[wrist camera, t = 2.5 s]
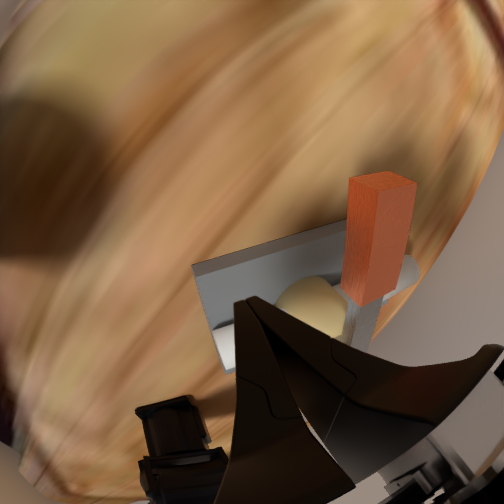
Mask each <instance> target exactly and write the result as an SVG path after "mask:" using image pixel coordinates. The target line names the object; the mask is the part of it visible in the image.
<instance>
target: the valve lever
mask: <svg viewBox="0 0 504 504" xmlns="http://www.w3.org/2000/svg"><path fill="white" fill-rule="evenodd" d="M416 189H417V183H416V182H414V181H412V180H409V179H407V178H405V177H403V176H400V175H398V174H395V173H393V172H391V171H385V172H379V173H373V174H367V175H362V176H356V177H351V178H349V192H348V210H347V225H346V237H345V248H344V258H343V267H342V276H341V284H340V288H341V289H342V290H343V291H344V292H345V293H346V294H347V295H348V296H349V300H348V305H347V311H346V316H345V321H344V326H343V331H342V336H341V342H343V343H345V344H347V345H349V346H351V347H353V348H355V349H358V350H360V351H363V352H365V353H366V352H367V349H368V346H369V343H370V340H371V337H372V334H373V331H374V328H375V325H376V322H377V318H378V315H379V311H380V308H381V304H382V301H383V297H384V295H386V294H388V293H390V292H391V291H393V290H395V289H396V286H397V282H398V279H399V275H400V271H401V267H402V263H403V259H404V255H405V250H406V246H407V241H408V236H409V231H410V226H411V221H412V215H413V209H414V203H415V197H416Z"/></svg>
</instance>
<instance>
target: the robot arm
mask: <svg viewBox="0 0 504 504" xmlns="http://www.w3.org/2000/svg"><path fill="white" fill-rule="evenodd" d="M233 316H234V345H235V371H236V409H235V419H234V427H233V436H232V444H231V451H230V457H229V459H228V457H227V455H226V454H225V452H224V450H223V448H222V447H217V448H215V449H209V446H208V443H211V441H212V440H211V438H210V435H209V432H208V429H207V427H206V424H205V421H204V418H203V415H202V413H201V412H200V410H199V409H198V407H196V406H193V405H192V403H191V401H190V400H189V398H188V397H181V398H178V399H174V400H170V401H166V402H163V403H159V404H155V405H151V406H146V407H142V408H138V409H135V414H136V415H137V416H138V417H139V418H140V419H141V420H142V424H143V429H144V434H145V439H146V443H147V448H148V452H149V456H143V458H144V459H142V460H140V461H138V464H139V469H140V473H141V477H142V481H143V485H144V490H145V493H146V497H148V498H150V499H151V500H153V502H154V503H156V504H327V503H329V502H330V501H333V500H334V499H336V498H338V497H340V496H342V495H343V494H346V493H347V492H349V491H351V490H353V489H354V488H355V487H356V486H355V484H357V483H359V482H360V481H362V480H364V479H366V478H367V477H369V476H371V475H372V474H374V473H376V472H377V471H378V473H379V474H380V476H381V477H382V478H383V480H384V481H385V482H386V484H387V485H386V486H384V488H385V489H386V491H387V492H388V493H389V495H390V496H389V497H387V498H385V499H384V500H383V501H381V502H380V503H378V504H424V503H423V502H425V501H426V500H427V499H429V498H431V497H432V496H434V495H435V494H434V493H435V492H436V491H438V490H439V489H441V488H442V489H443V491H444V492H445V493H443V494H441V495H439V496H437V497H436V498H435V499H433V503H431V504H504V359H503V360H502V362H501V363H500V364H499V366H498V367H497V368H496V370H495V371H494V372H492V371H491V370H490V368H491V367H492V366H493V364H494V363H495V361H496V360H497V359H498V357H499V356H500V354H501V353H502V352H503V350H504V346H501V345H498V344H487V345H484V346H482V347H481V349H480V350H479V351H478V352H477V353H476V354H475V355H474V356H472V357H470V358H467V359H464V360H461V361H455V362H448V363H441V364H435V365H426V366H418V367H408V366H402V365H398V364H395V363H392V362H389V361H387V360H384V359H381V358H378V357H376V356H373V355H370V354H368V353H365V352H363V351H360V350H358V349H355V348H353V347H351V346H349V345H347V344H345V343H343V342H341V341H339V340H337V339H335V338H333V337H332V338H331V336H329V335H327V334H325V333H323V332H322V331H320V330H318V329H316V328H314V327H312V326H310V325H308V324H307V323H305V322H303V321H301V320H299V319H297V318H296V317H294V316H292V315H290V314H288V313H287V312H285V311H283V310H281V309H279V308H277V307H276V306H274V305H272V304H270V303H269V302H267V301H265V300H263V299H261V298H260V297H258V296H251V297H248V298H246V299H245V300H239V301H236V302H234V303H233ZM298 407H299V408H298ZM299 409H300V410H301V412H302V413H303V414H304V416H305V417H306V419H307V420H308V422H309V423H310V425H311V426H312V427H313V429H314V430H315V432H316V433H317V435H318V436H319V437H320V439H321V440H322V442H323V443H324V445H325V446H326V447H327V449H328V450H329V452H330V453H331V454H332V456H333V457H334V458H335V460H336V461H337V463H338V464H339V465H340V466H339V465H338V464H337V463H336V461H335V460H334V459H333V458H332V457H331V456H330V455H329V453H328V452H327V451H326V450H325V449H324V448H323V446H322V445H321V444H320V443H319V441H318V440H317V439H316V438H315V437H314V436H313V434H312V433H311V432H310V430H309V428H308V427H307V425H306V423H305V421H304V419H303V416H302V414H301V412H300V410H299ZM152 472H159V474H153V473H152Z"/></svg>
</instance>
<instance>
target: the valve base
mask: <svg viewBox="0 0 504 504" xmlns="http://www.w3.org/2000/svg"><path fill="white" fill-rule="evenodd" d="M346 225H347V219H345V220H342V221H338V222H335V223H332V224H328V225H325V226H321V227H318V228H315V229H311V230H308V231H304V232H301V233H298V234H294V235H291V236H287V237H284V238H281V239H277V240H274V241H271V242H267V243H264V244H261V245H257V246H254V247H250V248H247V249H244V250H240V251H237V252H234V253H230V254H227V255H224V256H220V257H217V258H214V259H210V260H207V261H204V262H200V263H197V264H194V265H191V267H192V270H193V274H194V277H195V281H196V285H197V288H198V292H199V295H200V298H201V302H202V305H203V308H204V312H205V315H206V318H207V322H208V325H209V328H210V331H211V334H212V337H213V341H214V344H215V347H216V350H217V353H218V356H219V359H220V362H221V364H222V367H223V369H224V372H225V374H229V373H232V372H235V345H234V316H233V303H234V302H236V301H239V300H245V299H246V298H248V297H251V296H258V297H260V298H261V299H263V300H265V301H267V302H269V303H270V304H272V305H274V306H276V307H277V308H279V309H281V310H283V311H285V312H287V313H288V314H290V315H292V316H294V317H296V318H297V319H299V320H301V321H303V322H305V323H307V324H308V325H310V326H312V327H314V328H316V329H318V330H320V331H322V332H323V333H325V334H327V335H329V336H331V338H332V337H333V338H335V339H337V340H339V341H341V336H342V331H343V326H344V321H345V316H346V311H347V305H348V300H349V296H348V295H347V294H346V293H345V292H344V291H343V290H342V289H341V288H340V284H341V276H342V267H343V258H344V248H345V237H346ZM419 277H420V269H419V266H418V264H417V262H416V260H415V259H414V258H413V257H412V256H410V255H404V259H403V263H402V267H401V271H400V275H399V279H398V282H397V286H396V289H395V290H393V291H391V292H390V293H388V294H386V295H384V297H383V301H382V304H381V306H383V305H385V304H386V303H388V299H389V298H390V297H392V296H394V295H396V294H397V293H399V292H401V291H403V290H404V289H406V288H408V287H410V286H411V285H413V284H415V283H416V282H417V281H418V280H419Z"/></svg>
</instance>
